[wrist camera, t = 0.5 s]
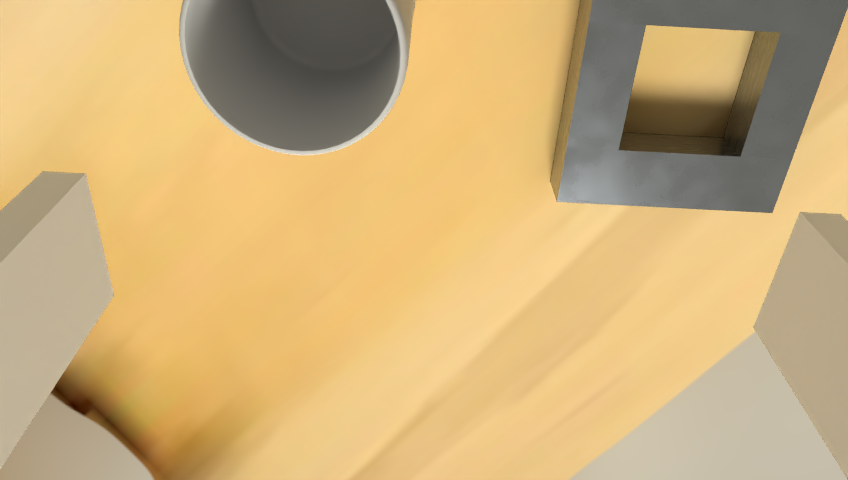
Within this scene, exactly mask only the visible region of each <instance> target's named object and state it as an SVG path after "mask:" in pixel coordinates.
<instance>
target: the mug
mask: <svg viewBox="0 0 848 480" xmlns="http://www.w3.org/2000/svg"><path fill="white" fill-rule="evenodd" d="M414 8H415V0H183V3H182V8H181V14H180V27H179V36H180V46H181V52H182V56H183V61H184V65H185V67H186V70H187V73H188V75H189V78H190V80H191V82H192V84H193V86H194V88H195V90H196V92H197V93H198V95H199V96H200V98H201V99H202V101H203V102H204V104H205V105H206V106H207V107H208V109H209V110H210V111H211V112H212V113H213V114H214V116H216V117H217V118H218V119H219V120H220V121H221V122H222V123H223V124H224V125H225V126H226V127H228V128H229V129H230V130H232V131H233V132H234V133H236V134H237V135H239V136H241V137H242V138H244V139H246V140H247V141H249V142H251V143H254V144H256V145H258V146H260V147H263V148H266V149H269V150H272V151H275V152H280V153H285V154H293V155H317V154H323V153H329V152H332V151H336V150H339V149H342V148H344V147H347V146H349V145H351V144H353V143H355V142H357V141H359V140H360V139H362V138H363V137H365V136H366V135H368V134H369V133H370V132H371V131H373V130H374V129H375V128H376V127H377V126H378V125H379V124H380V123H381V122H382V121H383V120H384V118H385V117H386V116H387V114H388V113H389V112H390V110H391V109H392V107H393V106H394V104H395V102H396V100H397V98H398V96H399V94H400V91H401V89H402V86H403V83H404V80H405V75H406V70H407V66H408V58H409V48H410V38H411V28H412V19H413V13H414Z"/></svg>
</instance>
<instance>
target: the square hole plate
mask: <svg viewBox="0 0 848 480" xmlns="http://www.w3.org/2000/svg"><path fill="white" fill-rule="evenodd" d="M847 8H848V0H581V1H580V7H579V13H578V19H577V25H576V31H575V37H574V43H573V49H572V55H571V61H570V67H569V72H568V78H567V84H566V90H565V96H564V102H563V108H562V114H561V120H560V126H559V132H558V138H557V144H556V150H555V156H554V162H553V168H552V174H551V180H550V182H551V185H552V188H553V191H554V194H555V197H556V200H557V202H570V203H590V204H609V205H629V206H648V207H667V208H687V209H706V210H725V211H745V212H764V213H772V212H773V210H774V207H775V204H776V201H777V199H778V196H779V193H780V190H781V188H782V185H783V182H784V180H785V177H786V174H787V171H788V169H789V166H790V163H791V160H792V158H793V155H794V152H795V150H796V147H797V144H798V141H799V139H800V136H801V133H802V131H803V128H804V125H805V122H806V120H807V117H808V114H809V111H810V109H811V106H812V103H813V101H814V98H815V95H816V92H817V90H818V87H819V84H820V81H821V79H822V76H823V73H824V71H825V68H826V65H827V62H828V60H829V57H830V54H831V51H832V49H833V46H834V43H835V41H836V38H837V35H838V32H839V30H840V27H841V24H842V22H843V19H844V16H845V13H846V11H847ZM646 25H657V26H674V27H692V28H709V29H727V30H745V31H756V32H755V35H754V39H753V42H752V45H751V48H750V52H749V55H748V58H747V62H746V65H745V68H744V71H743V75H742V78H741V81H740V85H739V88H738V91H737V95H736V98H735V101H734V104H733V108H732V111H731V114H730V118H729V121H728V124H727V127H726V131H725V134H724V137H723V138H714V137H695V136H677V135H658V134H639V133H622V132H623V127H624V123H625V118H626V114H627V109H628V105H629V100H630V95H631V91H632V86H633V82H634V77H635V73H636V68H637V64H638V59H639V54H640V50H641V45H642V41H643V36H644V32H645V27H646Z"/></svg>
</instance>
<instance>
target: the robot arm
mask: <svg viewBox="0 0 848 480" xmlns="http://www.w3.org/2000/svg"><path fill="white" fill-rule="evenodd" d="M113 296H114V293H113V289H112V284H111V280H110V276H109V271H108V267H107V263H106V259H105V254H104V250H103V246H102V241H101V237H100V233H99V229H98V224H97V220H96V216H95V211H94V207H93V203H92V199H91V194H90V190H89V186H88V181H87V177H86V174H83V173H65V172H46V171H43V172H42V173H41V174H40V175H39V176H37V177H36V178H35V179H34V180H33V181H32V182H31V183H30V184H29V185H28V186H27V187H26V188H25V189H23V190H22V191H21V192H20V193H19V194H18V195H17V196H16V197H15V198H14V199H13V200H12V201H11V202H9V203H8V204H7V205H6V206H5V207H4V208H3V209H2V210H1V211H0V469H1V467H2V466H3V464H4V463H5V461H6V460H7V458H8V456H9V455H10V453H11V452H12V450H13V449H14V447H15V446H16V444H17V443H18V441H19V440H20V438H21V437H22V435H23V433H24V432H25V431H26V429H27V428H28V426H29V424H30V423H31V421H32V420H33V418H34V417H35V415H36V414H37V412H38V411H39V409H40V408H41V406H42V405H43V403H44V402H45V400H46V398H47V397H48V395H49V394H50V392H51V391H52V389H53V388H54V386H55V385H56V383H57V382H58V380H59V379H60V377H61V376H62V374H63V373H64V371H65V370H66V368H67V367H68V365H69V363H70V362H71V360H72V359H73V357H74V356H75V354H76V353H77V351H78V350H79V348H80V347H81V345H82V344H83V342H84V341H85V339H86V338H87V336H88V334H89V333H90V331H91V330H92V328H93V327H94V325H95V324H96V322H97V321H98V319H99V318H100V316H101V315H102V313H103V312H104V310H105V309H106V307H107V305H108V304H109V302H110V301H111V299H112V298H113ZM753 328H754V329H755V331H756V332H757V334H758V336H759V337H760V339H761V340H762V342H763V344H764V345H765V347H766V348H767V350H768V352H769V353H770V355H771V357H772V358H773V360H774V361H775V363H776V365H777V366H778V368H779V369H780V371H781V373H782V374H783V376H784V377H785V379H786V380H787V382H788V384H789V385H790V387H791V388H792V390H793V392H794V394H795V395H796V397H797V398H798V400H799V402H800V403H801V405H802V406H803V408H804V410H805V411H806V413H807V414H808V416H809V418H810V419H811V421H812V422H813V424H814V426H815V427H816V429H817V431H818V432H819V434H820V435H821V437H822V439H823V440H824V442H825V443H826V445H827V447H828V448H829V450H830V451H831V453H832V455H833V456H834V458H835V459H836V461H837V463H838V464H839V466H840V468H841V469H842V471H843V472H844V474H845V476H846V477H847V479H848V221H847V220H846V219H845V218H844V217H843V216H842V215H841V214H827V213H808V212H800V213H799V216H798V218H797V221H796V223H795V226H794V228H793V231H792V233H791V236H790V238H789V241H788V243H787V246H786V248H785V251H784V253H783V256H782V258H781V260H780V263H779V265H778V268H777V270H776V273H775V275H774V278H773V280H772V283H771V285H770V288H769V290H768V293H767V295H766V298H765V300H764V303H763V305H762V308H761V310H760V313H759V315H758V317H757V320H756V322H755V325H754V327H753Z"/></svg>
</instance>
